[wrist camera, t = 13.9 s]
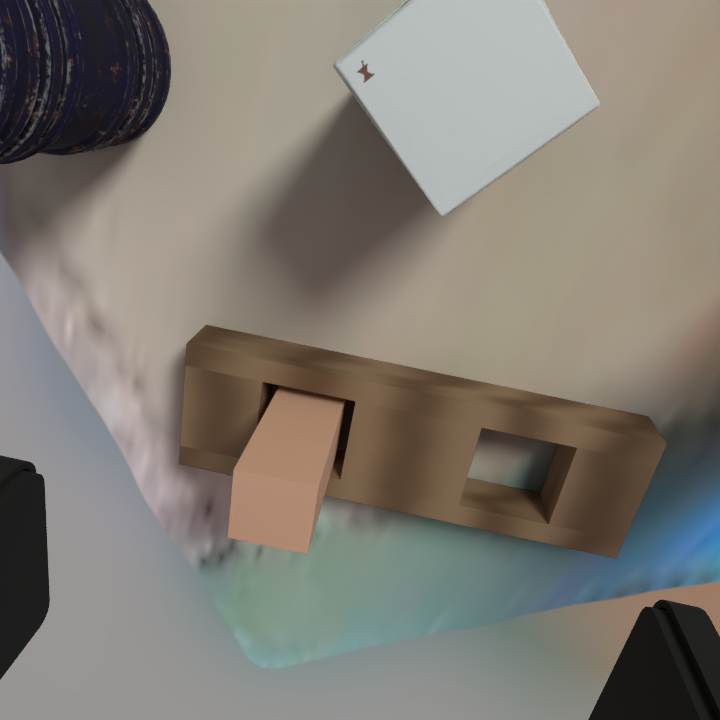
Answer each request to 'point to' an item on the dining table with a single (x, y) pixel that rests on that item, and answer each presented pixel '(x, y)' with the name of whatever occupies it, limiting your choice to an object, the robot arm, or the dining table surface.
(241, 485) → the peg
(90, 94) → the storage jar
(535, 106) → the supplement box
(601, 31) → the dining table surface
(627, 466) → the rail
